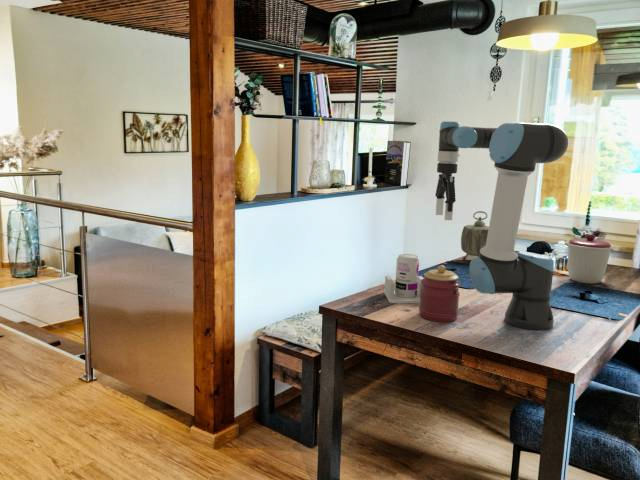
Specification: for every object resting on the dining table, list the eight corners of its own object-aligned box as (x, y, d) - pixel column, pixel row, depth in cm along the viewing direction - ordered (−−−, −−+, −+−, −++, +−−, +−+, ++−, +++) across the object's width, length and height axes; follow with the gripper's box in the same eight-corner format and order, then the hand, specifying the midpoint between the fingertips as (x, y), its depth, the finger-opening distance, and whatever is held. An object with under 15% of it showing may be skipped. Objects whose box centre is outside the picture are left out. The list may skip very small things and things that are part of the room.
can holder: (428, 303, 201) (429, 285, 200) (390, 303, 201) (391, 284, 200) (420, 292, 215) (421, 275, 214) (384, 292, 215) (385, 274, 213)
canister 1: (429, 323, 180) (433, 270, 177) (412, 311, 192) (415, 261, 189) (465, 321, 183) (469, 269, 180) (446, 309, 196) (450, 260, 192)
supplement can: (416, 292, 211) (418, 254, 209) (417, 299, 203) (420, 259, 201) (394, 291, 212) (396, 253, 209) (395, 297, 204) (397, 257, 201)
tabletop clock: (487, 259, 279) (492, 210, 274) (494, 264, 270) (499, 213, 265) (459, 259, 278) (463, 209, 273) (465, 263, 269) (469, 212, 264)
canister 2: (568, 284, 235) (574, 235, 231) (558, 274, 253) (563, 228, 249) (614, 288, 232) (620, 238, 228) (600, 277, 250) (606, 231, 246)
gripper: (467, 164, 201) (462, 222, 205) (448, 161, 226) (444, 213, 230) (446, 164, 201) (442, 222, 205) (430, 160, 225) (426, 212, 229)
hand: (443, 217), depth 217 cm, fingers open, 13 cm apart
